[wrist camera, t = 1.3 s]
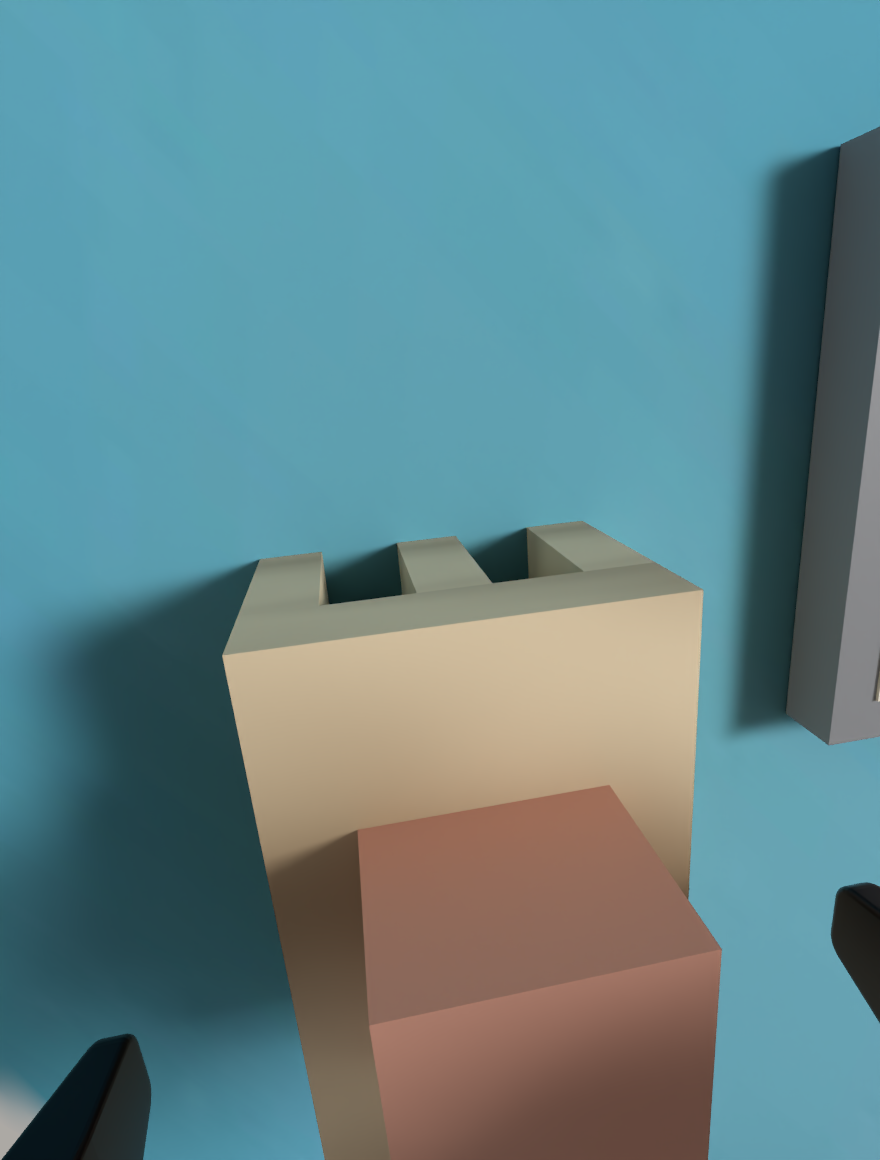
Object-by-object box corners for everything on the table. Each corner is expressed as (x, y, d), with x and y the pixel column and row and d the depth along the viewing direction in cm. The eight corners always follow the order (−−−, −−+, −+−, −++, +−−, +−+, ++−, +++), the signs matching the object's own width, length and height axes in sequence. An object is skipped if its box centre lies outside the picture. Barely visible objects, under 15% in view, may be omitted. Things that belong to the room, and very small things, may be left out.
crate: (610, 1016, 9) (703, 1229, 7) (392, 1065, 9) (414, 1307, 7) (609, 785, 8) (721, 949, 6) (357, 829, 8) (368, 1025, 5)
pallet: (585, 920, 14) (677, 1117, 10) (332, 971, 13) (333, 1202, 10) (579, 519, 11) (703, 589, 8) (260, 556, 11) (222, 655, 7)
